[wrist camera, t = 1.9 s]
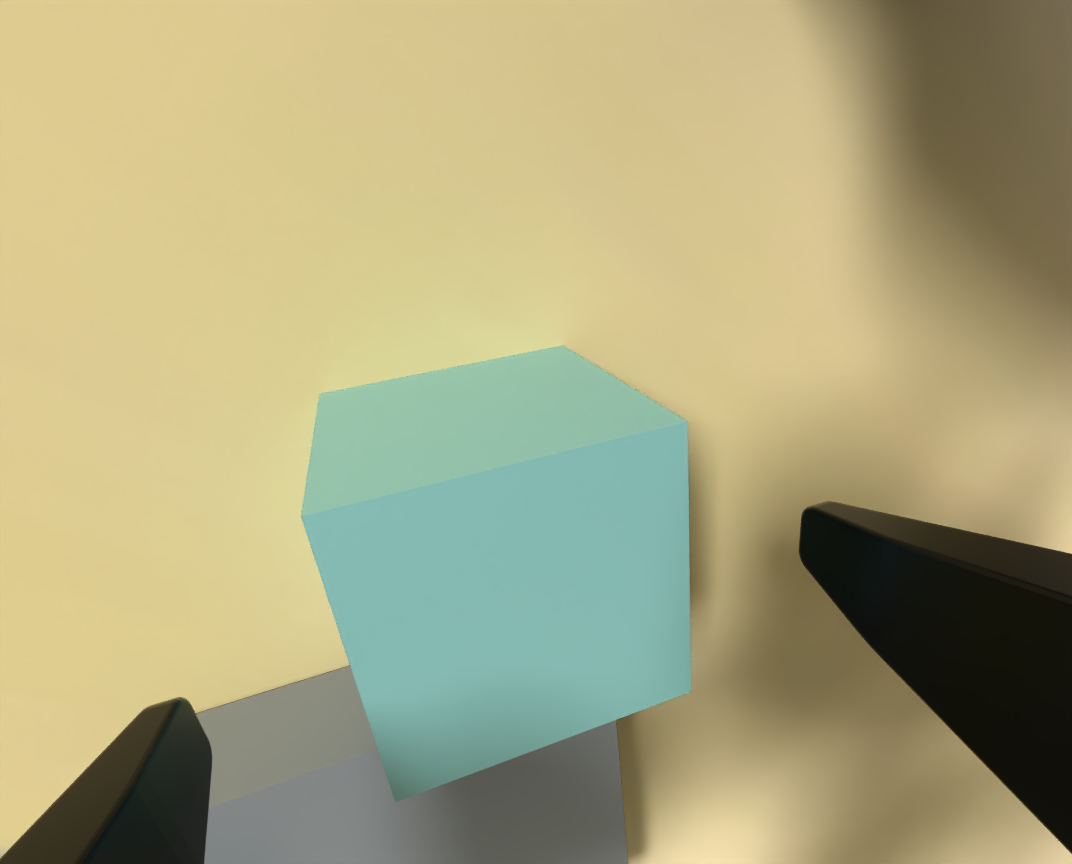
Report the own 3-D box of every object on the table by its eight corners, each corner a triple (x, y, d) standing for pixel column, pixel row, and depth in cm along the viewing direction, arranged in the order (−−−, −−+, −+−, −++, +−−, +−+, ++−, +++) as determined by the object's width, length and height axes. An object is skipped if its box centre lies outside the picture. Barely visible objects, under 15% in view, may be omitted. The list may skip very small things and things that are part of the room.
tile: (570, 596, 14) (611, 667, 12) (599, 842, 18) (634, 928, 16) (134, 732, 12) (86, 850, 10) (274, 979, 16) (262, 1103, 14)
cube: (561, 344, 12) (687, 421, 8) (581, 540, 14) (691, 691, 10) (319, 392, 11) (301, 516, 6) (378, 598, 13) (395, 801, 8)
